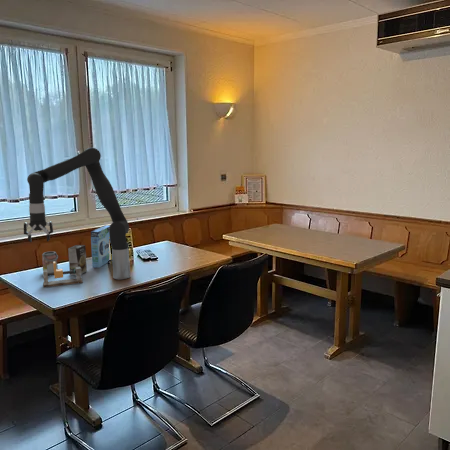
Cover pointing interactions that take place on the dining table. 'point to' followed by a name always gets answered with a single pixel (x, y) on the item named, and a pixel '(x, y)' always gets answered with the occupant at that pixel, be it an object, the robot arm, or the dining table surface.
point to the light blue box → (100, 246)
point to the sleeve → (57, 271)
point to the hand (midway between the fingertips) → (39, 241)
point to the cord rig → (62, 282)
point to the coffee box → (77, 258)
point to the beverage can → (49, 261)
